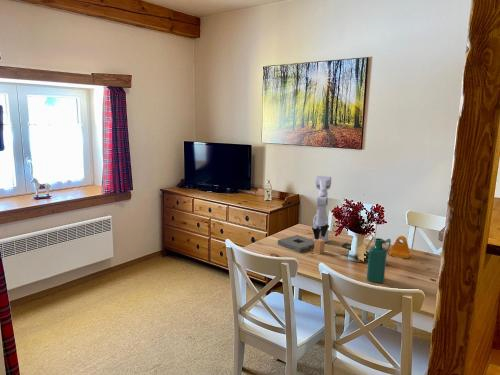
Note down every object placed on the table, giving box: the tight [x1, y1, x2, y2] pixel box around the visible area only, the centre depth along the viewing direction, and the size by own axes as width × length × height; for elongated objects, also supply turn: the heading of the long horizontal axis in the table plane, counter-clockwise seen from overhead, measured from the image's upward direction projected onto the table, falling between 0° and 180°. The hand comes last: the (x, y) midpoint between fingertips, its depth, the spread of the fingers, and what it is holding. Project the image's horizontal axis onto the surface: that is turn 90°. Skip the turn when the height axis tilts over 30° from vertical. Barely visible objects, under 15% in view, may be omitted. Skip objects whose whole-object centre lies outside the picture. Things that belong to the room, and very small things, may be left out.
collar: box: [277, 234, 315, 253], centre depth 245 cm, size 19×19×3 cm
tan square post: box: [313, 238, 326, 255], centre depth 234 cm, size 4×4×8 cm
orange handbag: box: [388, 235, 411, 259], centre depth 231 cm, size 11×7×12 cm, turn 58°
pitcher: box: [366, 237, 392, 284], centre depth 195 cm, size 10×8×22 cm
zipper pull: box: [340, 242, 369, 264], centre depth 225 cm, size 9×7×25 cm
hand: (319, 237), depth 233 cm, fingers open, 7 cm apart
